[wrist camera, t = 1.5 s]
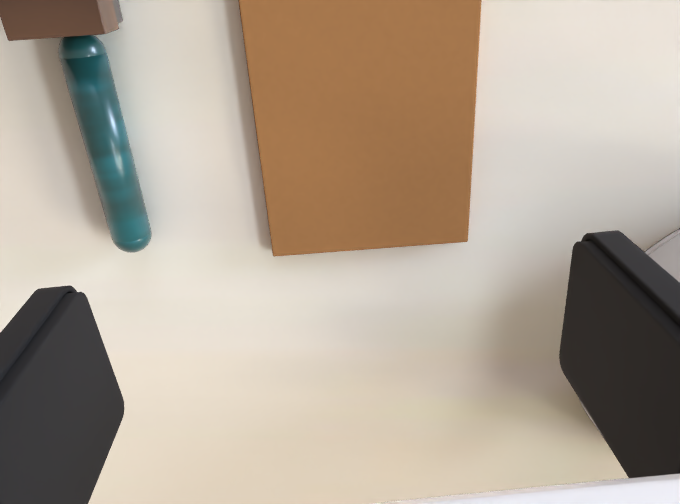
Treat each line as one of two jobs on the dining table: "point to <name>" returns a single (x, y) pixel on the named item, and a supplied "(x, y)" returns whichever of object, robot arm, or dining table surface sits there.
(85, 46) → the brush
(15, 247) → the dining table surface
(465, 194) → the cork mat
